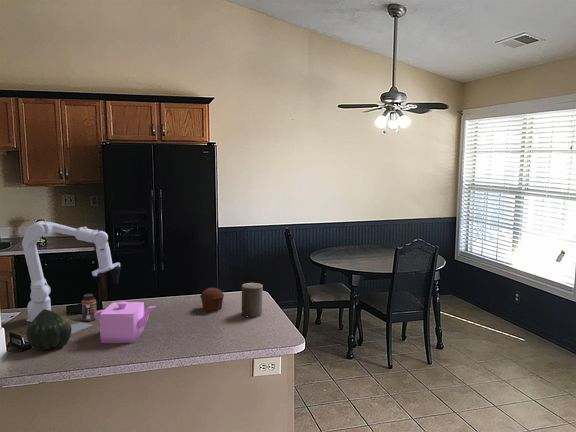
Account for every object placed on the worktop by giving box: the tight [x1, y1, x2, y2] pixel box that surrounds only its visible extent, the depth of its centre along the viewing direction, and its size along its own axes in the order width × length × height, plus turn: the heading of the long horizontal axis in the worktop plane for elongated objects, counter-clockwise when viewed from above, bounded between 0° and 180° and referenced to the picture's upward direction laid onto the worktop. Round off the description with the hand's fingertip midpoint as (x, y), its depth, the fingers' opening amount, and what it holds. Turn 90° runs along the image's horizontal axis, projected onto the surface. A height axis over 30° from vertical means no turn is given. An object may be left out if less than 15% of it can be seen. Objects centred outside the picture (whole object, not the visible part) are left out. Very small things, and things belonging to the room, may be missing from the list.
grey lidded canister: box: [241, 282, 264, 318], centre depth 209 cm, size 10×10×15 cm
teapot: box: [94, 301, 157, 344], centre depth 183 cm, size 15×25×14 cm, turn 93°
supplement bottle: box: [81, 293, 98, 322], centre depth 201 cm, size 6×6×11 cm
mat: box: [67, 318, 94, 335], centre depth 191 cm, size 16×15×1 cm
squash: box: [26, 309, 72, 351], centre depth 172 cm, size 14×15×15 cm
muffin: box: [200, 287, 225, 313], centre depth 216 cm, size 12×11×10 cm
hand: (109, 286), depth 207 cm, fingers open, 7 cm apart
